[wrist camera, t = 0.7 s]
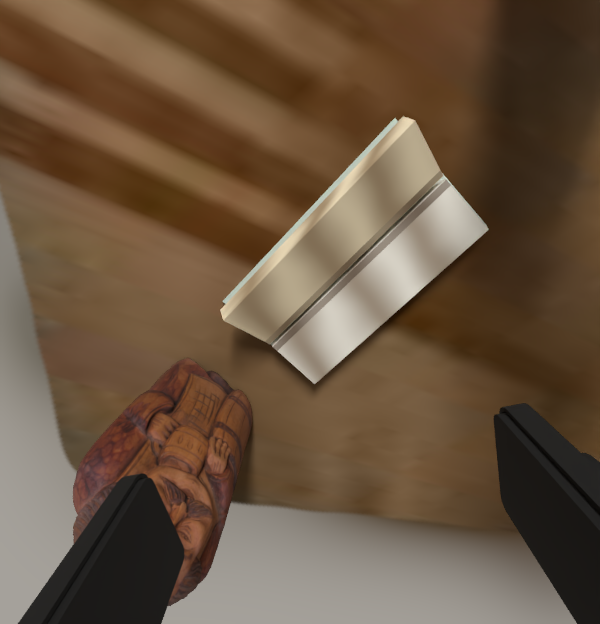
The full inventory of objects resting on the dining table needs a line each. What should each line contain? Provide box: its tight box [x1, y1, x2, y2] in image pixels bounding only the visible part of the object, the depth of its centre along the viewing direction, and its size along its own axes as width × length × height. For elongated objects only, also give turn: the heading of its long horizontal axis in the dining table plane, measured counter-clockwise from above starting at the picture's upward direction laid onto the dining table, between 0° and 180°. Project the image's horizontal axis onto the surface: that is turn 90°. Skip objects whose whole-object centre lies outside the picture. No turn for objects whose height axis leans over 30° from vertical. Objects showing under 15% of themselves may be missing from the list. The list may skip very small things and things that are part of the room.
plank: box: [220, 116, 443, 344], centre depth 27 cm, size 20×6×1 cm
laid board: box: [272, 179, 489, 384], centre depth 30 cm, size 20×6×1 cm, turn 135°
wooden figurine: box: [73, 358, 252, 606], centre depth 27 cm, size 12×6×18 cm, turn 47°
